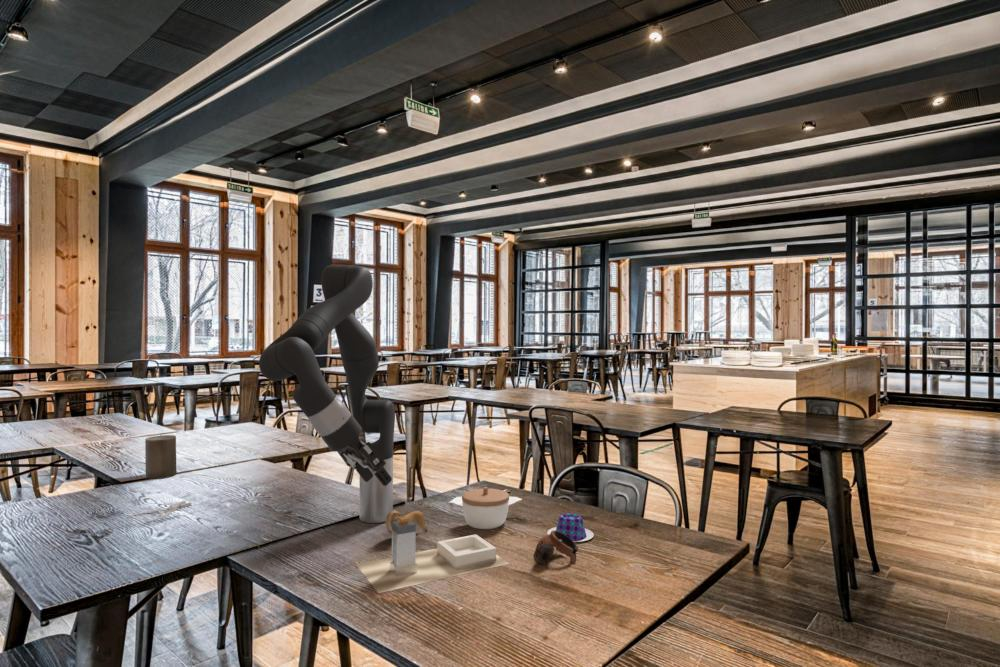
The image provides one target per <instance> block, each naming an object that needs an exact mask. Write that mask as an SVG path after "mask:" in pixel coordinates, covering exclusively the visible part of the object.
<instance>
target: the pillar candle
mask: <svg viewBox="0 0 1000 667" xmlns="http://www.w3.org/2000/svg"><path fill="white" fill-rule="evenodd" d="M176 436H177V435H173V434H167V435H162V433H160V435H155V436H151V437H150V436H149V437H146V438H145V441H144V442H145V447H144V448H145V457H144V458H145V463H144V464H145V478H146V479H151V480H152V479H153V480H154V479H157V480H158V479H166V478H170V477H174V476H176V475H177V471H178V470H177V437H176Z"/></svg>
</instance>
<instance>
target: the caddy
mask: <svg viewBox="0 0 1000 667" xmlns="http://www.w3.org/2000/svg"><path fill="white" fill-rule="evenodd" d="M436 542H437V543H436V544H437V545H436V546H437V548H436V549H437V555H438V556H440V557H441V558H442V559H443V560H444V561H445V562H447V563H448V564H449V565H450V566H451V567H452V568H454V569H455V570H460V569H464V568H469V567H473V566H478V565H483V564H487V563H492V562H496V555H497V547H495V546H494V545H492V544H491V543H489V542H488V541H486V539H484V538H482V537H481V536H479V535H478V534H470V535H466V536H460V537H455V538H450V539H449V538H448V539H444V540H439V541H436Z"/></svg>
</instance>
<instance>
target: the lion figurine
mask: <svg viewBox="0 0 1000 667" xmlns="http://www.w3.org/2000/svg"><path fill="white" fill-rule="evenodd" d="M405 517H407V518H408V519H410V520H411V521H412V522H414V523H415V524H416V526H418V527H419V528H421V529H422V531H424V533H428V526H427V525H426V520H425V515H424V513H422V511H419V510H415V511H411V512H409V513H407V514H406V515H405V514H403V513H401V512H399V511H398V510H395V509H393V511H391V512H389V513H388V515H387V516H386V521H385V526H386V529H387V531H388V533H389V534H391V535H392V522H394V521H400V518H405Z"/></svg>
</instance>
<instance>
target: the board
mask: <svg viewBox="0 0 1000 667" xmlns="http://www.w3.org/2000/svg"><path fill="white" fill-rule="evenodd" d="M390 562H392V556H391V557H386V558H382V559H376V560H372V561H366V562H362V563H361V562H360V563H356V564H355V566H356V567H357V568H358V570H359V571H360V572H361V573H362V575H363V576H364V578H366V580H367V581H368V583H369V584H370V585H371V586H372V587H373V589H374V590H375V591H376V593H377V594H382V593H386V592H390V591H396V590H400V589H403V588H408V587H409V588H410V587H413V586H417V585H422V584H426V583H430V582H431V583H432V582H434V581H440V580H444V579H448V578H453V577H457V576H461V575H466V574H471V573H475V572H480V571H485V570H489V569H493V568H497V567H501V566H507V565H510V563H509V562H508V561H506V559H504V558H502V557H501V556H499V555H498V554H496V562H492V563H487V564H483V565H478V566H473V567H469V568H464V569H460V570H455V569H454V568H452V567H451V566H450V565H449V564H448V563H447V562H445V561H444V560H443V559H442V558H441V557H440V556H438V555H437V548H432V549H427V550H421V551H418V552H417V551H415V562H416V563H417V572H416V573H411V574H407V575H402V576H397V577H396V576H395V575H394V574H393V573H392V572H391V571H390Z"/></svg>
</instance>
